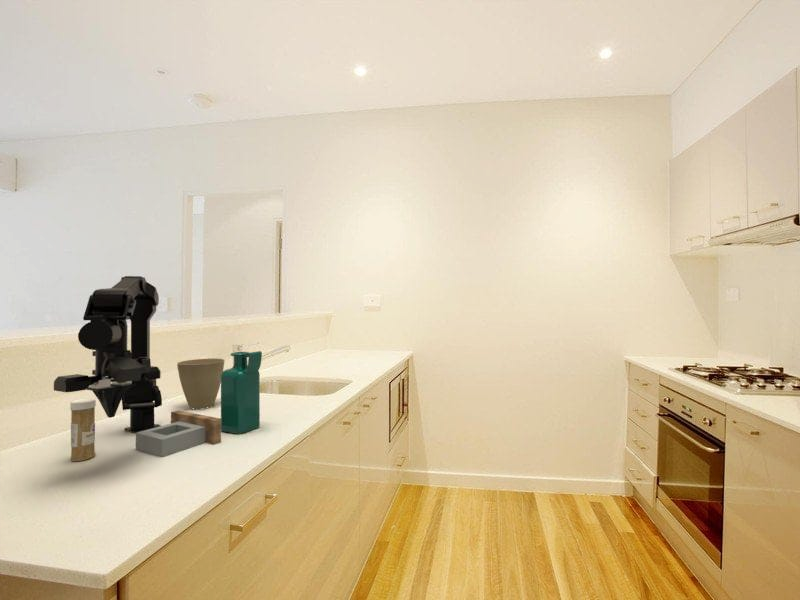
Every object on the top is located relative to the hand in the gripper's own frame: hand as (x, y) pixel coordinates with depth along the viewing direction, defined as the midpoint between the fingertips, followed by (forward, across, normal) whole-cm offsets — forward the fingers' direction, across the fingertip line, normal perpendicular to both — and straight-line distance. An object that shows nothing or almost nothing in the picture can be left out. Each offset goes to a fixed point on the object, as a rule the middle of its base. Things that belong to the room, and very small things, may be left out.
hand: (111, 417), depth 87 cm
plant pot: (+10, +43, +29) cm, 52 cm away
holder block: (+10, +14, 0) cm, 17 cm away
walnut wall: (+10, +20, 0) cm, 23 cm away
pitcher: (+10, +31, -5) cm, 33 cm away
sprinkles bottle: (+11, -1, +10) cm, 15 cm away
